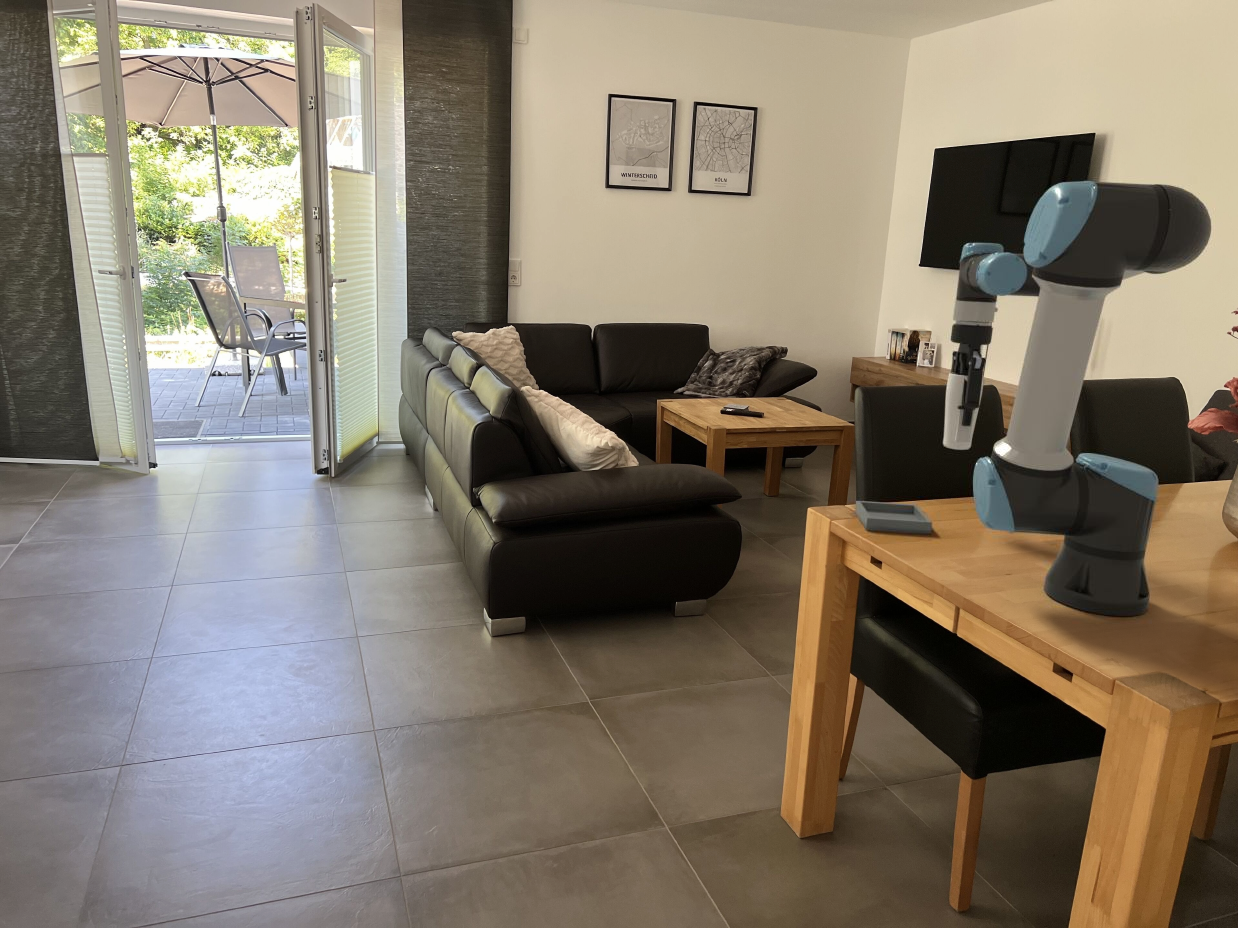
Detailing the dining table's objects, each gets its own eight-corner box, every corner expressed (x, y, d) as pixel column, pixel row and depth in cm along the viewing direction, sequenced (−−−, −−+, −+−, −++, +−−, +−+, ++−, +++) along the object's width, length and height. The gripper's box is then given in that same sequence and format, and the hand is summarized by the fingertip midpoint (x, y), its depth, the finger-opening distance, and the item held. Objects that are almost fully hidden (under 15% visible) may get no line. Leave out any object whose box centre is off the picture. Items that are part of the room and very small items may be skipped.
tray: (930, 534, 174) (932, 522, 173) (865, 530, 175) (867, 518, 174) (915, 516, 186) (916, 504, 186) (854, 512, 187) (856, 500, 187)
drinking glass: (979, 451, 176) (989, 377, 173) (945, 450, 176) (955, 375, 173) (967, 444, 183) (976, 373, 179) (934, 443, 183) (943, 371, 179)
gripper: (1008, 327, 164) (991, 448, 170) (977, 321, 183) (962, 430, 188) (967, 325, 165) (951, 446, 170) (940, 319, 183) (926, 428, 189)
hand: (957, 438), depth 179 cm, fingers closed on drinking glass, 6 cm apart
